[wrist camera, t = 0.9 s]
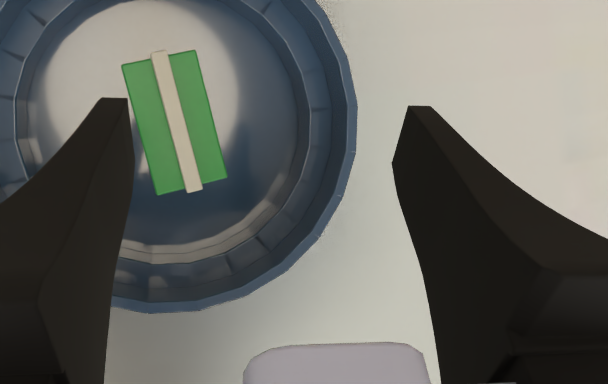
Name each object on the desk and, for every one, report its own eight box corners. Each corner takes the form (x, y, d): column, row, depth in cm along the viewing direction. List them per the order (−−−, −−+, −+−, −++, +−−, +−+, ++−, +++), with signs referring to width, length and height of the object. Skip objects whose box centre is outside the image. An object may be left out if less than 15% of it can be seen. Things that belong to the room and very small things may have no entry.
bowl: (277, 311, 31) (300, 344, 26) (-50, 241, 27) (-93, 266, 22) (360, 22, 31) (400, 2, 26) (42, -98, 26) (18, -149, 21)
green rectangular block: (155, 183, 28) (157, 201, 21) (126, 77, 27) (118, 59, 20) (212, 168, 29) (233, 181, 22) (186, 64, 28) (198, 42, 21)
